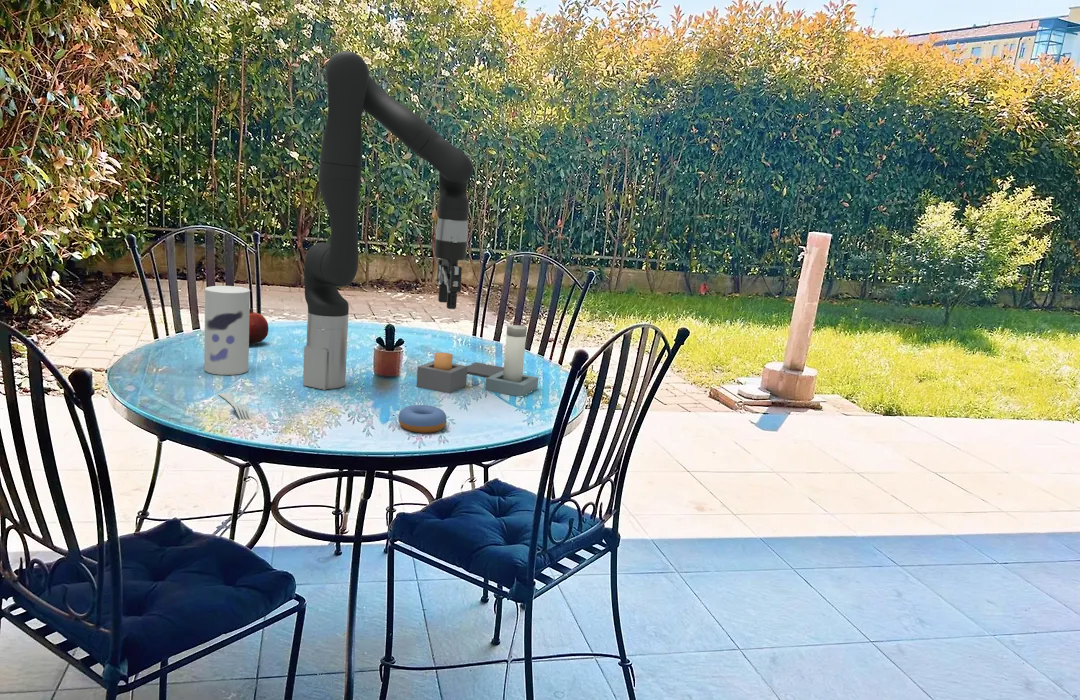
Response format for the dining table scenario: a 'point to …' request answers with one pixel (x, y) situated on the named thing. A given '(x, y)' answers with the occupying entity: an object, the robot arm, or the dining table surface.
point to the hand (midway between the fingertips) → (446, 305)
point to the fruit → (257, 327)
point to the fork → (231, 401)
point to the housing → (511, 385)
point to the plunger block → (441, 377)
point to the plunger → (443, 361)
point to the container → (226, 330)
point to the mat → (483, 369)
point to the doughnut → (422, 418)
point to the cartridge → (514, 353)
